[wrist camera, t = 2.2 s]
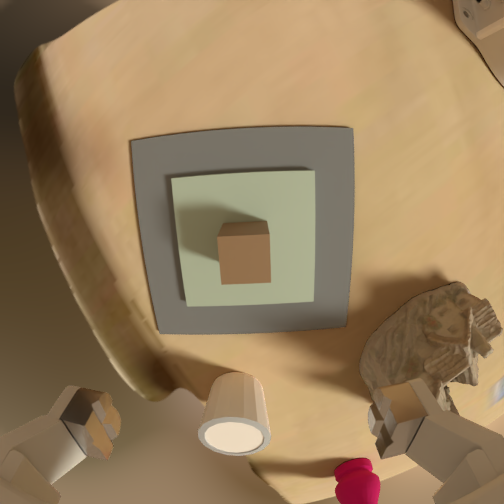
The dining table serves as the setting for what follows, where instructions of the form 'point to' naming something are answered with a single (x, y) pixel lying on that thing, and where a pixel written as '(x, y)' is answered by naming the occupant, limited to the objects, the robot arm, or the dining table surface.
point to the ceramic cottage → (432, 342)
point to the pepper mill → (357, 482)
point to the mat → (235, 161)
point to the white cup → (235, 416)
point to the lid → (246, 237)
